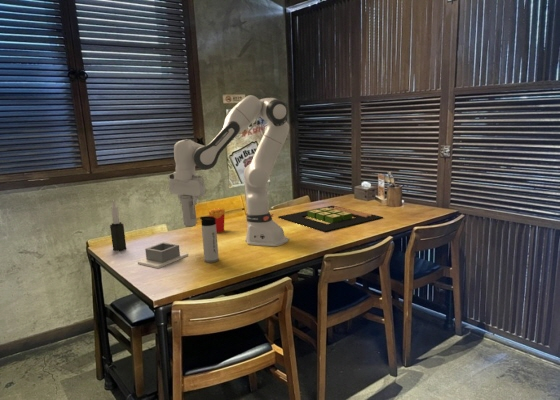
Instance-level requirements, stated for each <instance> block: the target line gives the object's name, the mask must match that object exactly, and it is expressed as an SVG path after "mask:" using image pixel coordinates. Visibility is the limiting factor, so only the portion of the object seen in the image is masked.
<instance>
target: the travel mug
mask: <svg viewBox="0 0 560 400" xmlns="http://www.w3.org/2000/svg"><path fill="white" fill-rule="evenodd" d="M200 221H201V234H202V244H203V245H202V247H203V257H204V262H205V263H208V264H211V263H212V264H213V263H216V262H219V259H220V258H219V248H218V232H217V231H216V219H215V218H214V217H209V216H200Z"/></svg>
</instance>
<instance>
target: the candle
mask: <svg viewBox="0 0 560 400" xmlns="http://www.w3.org/2000/svg"><path fill="white" fill-rule="evenodd" d="M110 209H111V215H112V216H111V217H112V223H111V224H110V225H109V228H110V235H111V244H112V250H113V251H116V252H121V251H124V250H127V244H126V242H127V241H126V234H125V227H124V223H123V222H122V221H120V215H119V206H117V204H116V202H115V200H114V199H113V200H112V205H111V208H110Z"/></svg>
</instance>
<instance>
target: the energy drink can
mask: <svg viewBox="0 0 560 400" xmlns="http://www.w3.org/2000/svg"><path fill="white" fill-rule="evenodd" d="M193 199H194V198H193V196H190V195H182V197H181V203H180V205H181V212H182V220H183V226H184V227H186V228H192V227H196V225H197V224H198V222H197V221H198V220H197V213H196V205H192V201H193Z"/></svg>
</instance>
